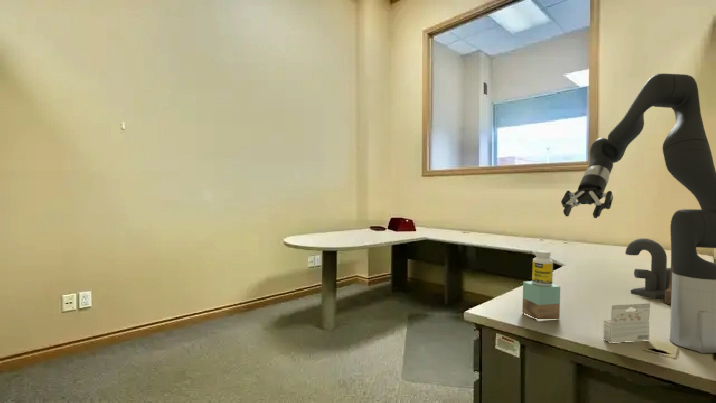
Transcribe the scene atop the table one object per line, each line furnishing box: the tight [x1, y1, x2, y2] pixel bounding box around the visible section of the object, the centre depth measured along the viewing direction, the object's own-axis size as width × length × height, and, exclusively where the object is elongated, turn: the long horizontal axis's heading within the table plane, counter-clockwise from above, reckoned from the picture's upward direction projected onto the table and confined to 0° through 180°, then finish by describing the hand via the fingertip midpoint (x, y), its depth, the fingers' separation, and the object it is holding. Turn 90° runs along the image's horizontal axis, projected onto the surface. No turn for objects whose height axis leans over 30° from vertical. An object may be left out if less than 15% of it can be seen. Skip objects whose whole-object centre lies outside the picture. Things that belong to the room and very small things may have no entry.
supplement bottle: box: [531, 249, 554, 286], centre depth 109 cm, size 5×5×10 cm
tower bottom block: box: [521, 297, 561, 320], centre depth 109 cm, size 7×7×5 cm
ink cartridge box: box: [603, 303, 651, 342], centre depth 92 cm, size 2×11×10 cm, turn 99°
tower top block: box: [522, 280, 561, 305], centre depth 109 cm, size 7×7×5 cm
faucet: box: [624, 237, 671, 300], centre depth 139 cm, size 18×16×20 cm
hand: (580, 215), depth 120 cm, fingers open, 8 cm apart
